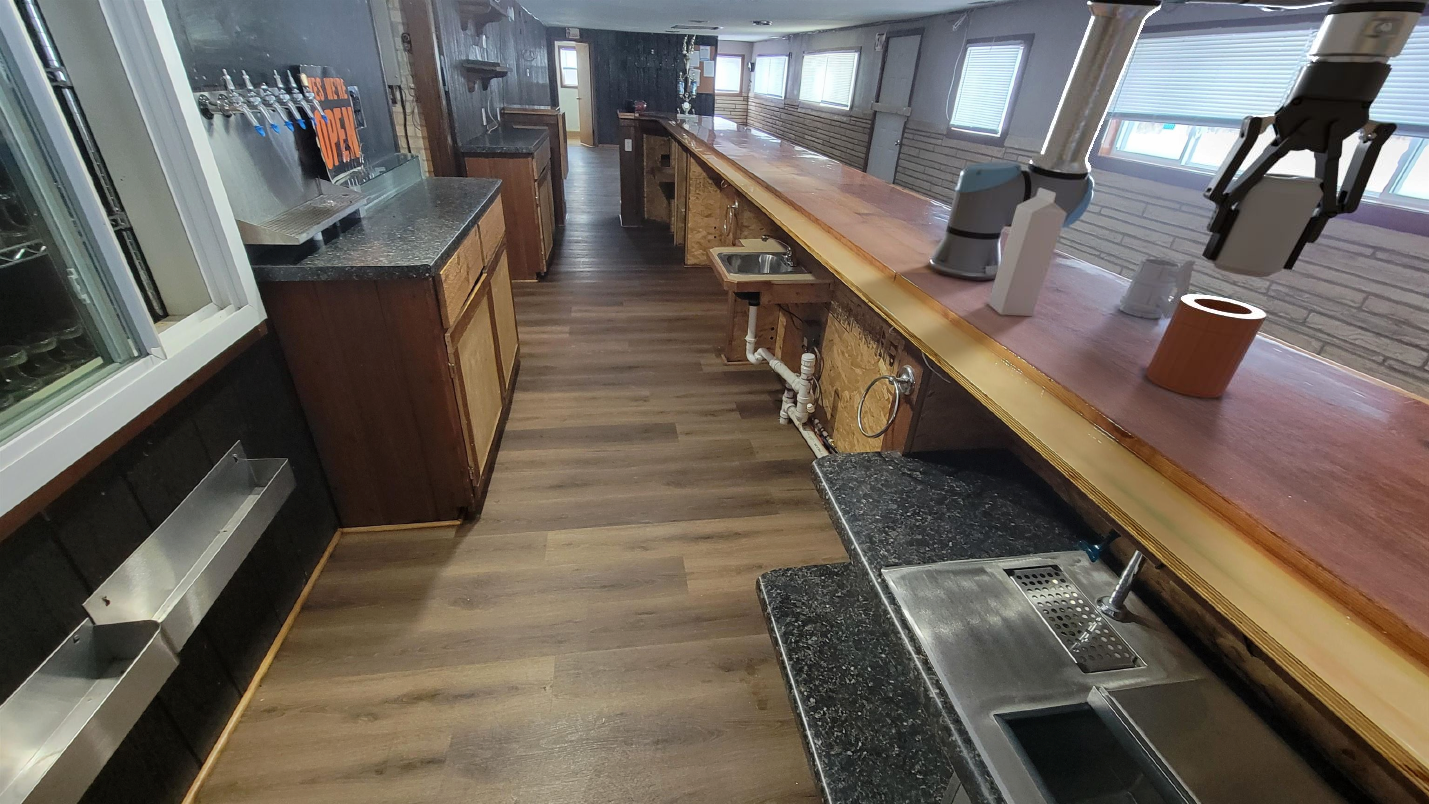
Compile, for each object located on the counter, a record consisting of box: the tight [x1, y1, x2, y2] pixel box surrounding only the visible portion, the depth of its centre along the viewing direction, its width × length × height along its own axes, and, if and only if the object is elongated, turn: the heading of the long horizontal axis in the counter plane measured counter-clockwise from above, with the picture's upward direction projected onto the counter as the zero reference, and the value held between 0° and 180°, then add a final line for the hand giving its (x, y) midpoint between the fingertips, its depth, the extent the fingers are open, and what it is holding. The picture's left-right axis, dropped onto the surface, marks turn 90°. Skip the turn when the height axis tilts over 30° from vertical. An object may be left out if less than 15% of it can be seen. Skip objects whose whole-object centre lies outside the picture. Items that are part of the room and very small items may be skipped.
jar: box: [1145, 294, 1267, 399], centre depth 81 cm, size 9×9×12 cm
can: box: [1210, 172, 1323, 278], centre depth 72 cm, size 8×8×12 cm
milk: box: [987, 188, 1067, 317], centre depth 103 cm, size 6×6×22 cm
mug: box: [1119, 257, 1196, 320], centre depth 106 cm, size 8×12×12 cm, turn 4°
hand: (1245, 262), depth 75 cm, fingers closed on can, 7 cm apart
